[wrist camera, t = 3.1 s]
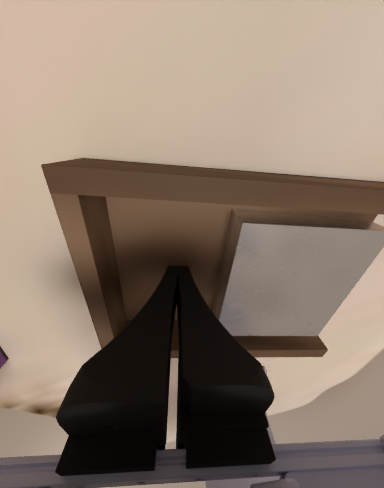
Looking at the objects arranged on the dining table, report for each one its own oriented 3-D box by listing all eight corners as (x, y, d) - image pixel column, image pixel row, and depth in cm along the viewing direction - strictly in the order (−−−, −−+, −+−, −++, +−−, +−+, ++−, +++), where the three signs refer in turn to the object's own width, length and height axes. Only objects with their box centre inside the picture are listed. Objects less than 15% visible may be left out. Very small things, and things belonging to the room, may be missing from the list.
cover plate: (301, 313, 15) (317, 336, 13) (211, 312, 14) (215, 335, 13) (360, 216, 11) (394, 231, 9) (232, 209, 10) (242, 223, 8)
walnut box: (300, 323, 17) (322, 356, 14) (117, 321, 15) (104, 358, 13) (388, 182, 10) (458, 196, 8) (82, 158, 9) (40, 164, 6)
